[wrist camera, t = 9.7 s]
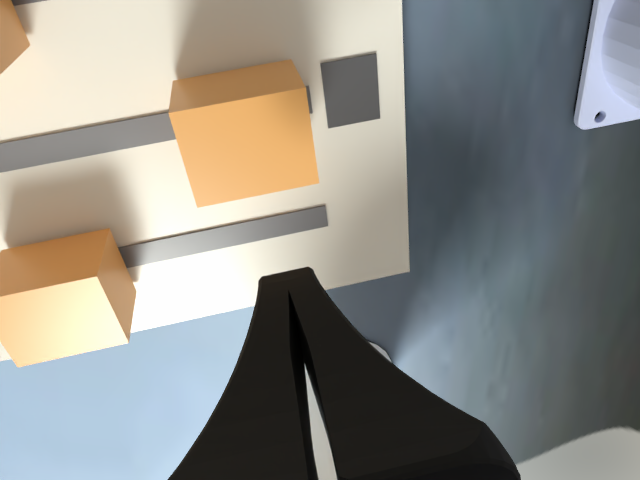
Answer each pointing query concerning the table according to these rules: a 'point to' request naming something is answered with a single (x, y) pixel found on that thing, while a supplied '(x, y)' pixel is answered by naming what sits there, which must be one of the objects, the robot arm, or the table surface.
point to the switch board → (165, 158)
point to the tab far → (64, 297)
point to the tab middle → (244, 132)
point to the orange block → (10, 35)
